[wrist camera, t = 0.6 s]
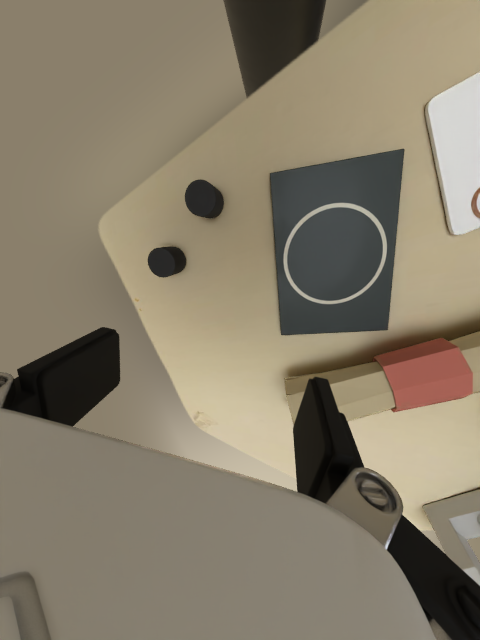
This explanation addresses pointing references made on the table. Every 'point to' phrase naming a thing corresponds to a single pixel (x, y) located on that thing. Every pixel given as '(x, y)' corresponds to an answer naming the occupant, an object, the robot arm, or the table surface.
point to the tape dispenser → (458, 529)
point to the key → (475, 203)
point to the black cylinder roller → (204, 199)
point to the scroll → (400, 378)
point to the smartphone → (457, 150)
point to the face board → (336, 243)
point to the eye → (166, 261)
